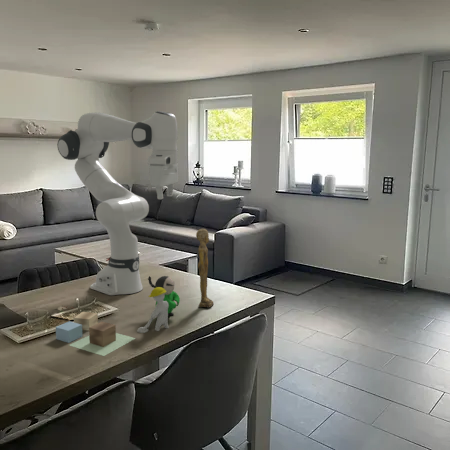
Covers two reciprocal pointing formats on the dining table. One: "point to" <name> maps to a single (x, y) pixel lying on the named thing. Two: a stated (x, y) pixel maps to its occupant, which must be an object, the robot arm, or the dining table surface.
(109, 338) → the walnut brick
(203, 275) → the sculpture
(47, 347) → the dining table surface
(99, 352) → the plate
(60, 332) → the blue brick
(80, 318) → the oak brick
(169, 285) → the toy
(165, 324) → the figurine
